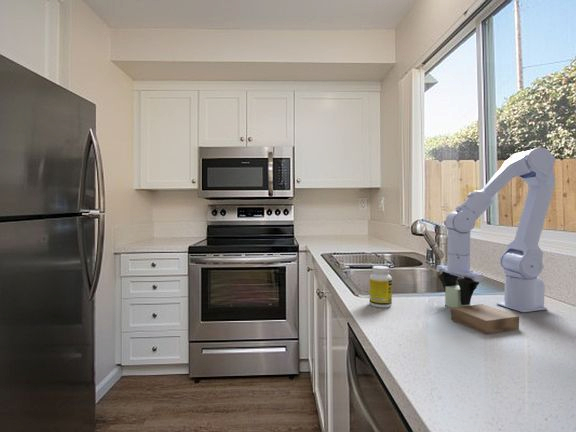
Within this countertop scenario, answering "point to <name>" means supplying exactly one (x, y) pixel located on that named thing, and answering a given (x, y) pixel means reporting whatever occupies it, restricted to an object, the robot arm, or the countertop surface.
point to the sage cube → (453, 296)
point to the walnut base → (485, 318)
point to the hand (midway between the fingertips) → (457, 301)
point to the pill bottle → (380, 287)
